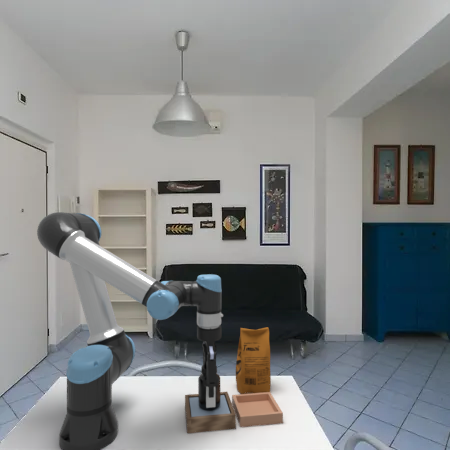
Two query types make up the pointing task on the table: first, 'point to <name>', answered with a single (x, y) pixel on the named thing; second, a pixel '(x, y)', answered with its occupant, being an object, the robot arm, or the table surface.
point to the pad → (200, 412)
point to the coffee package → (253, 361)
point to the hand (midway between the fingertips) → (209, 400)
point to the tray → (256, 409)
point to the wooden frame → (210, 418)
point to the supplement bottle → (202, 390)
